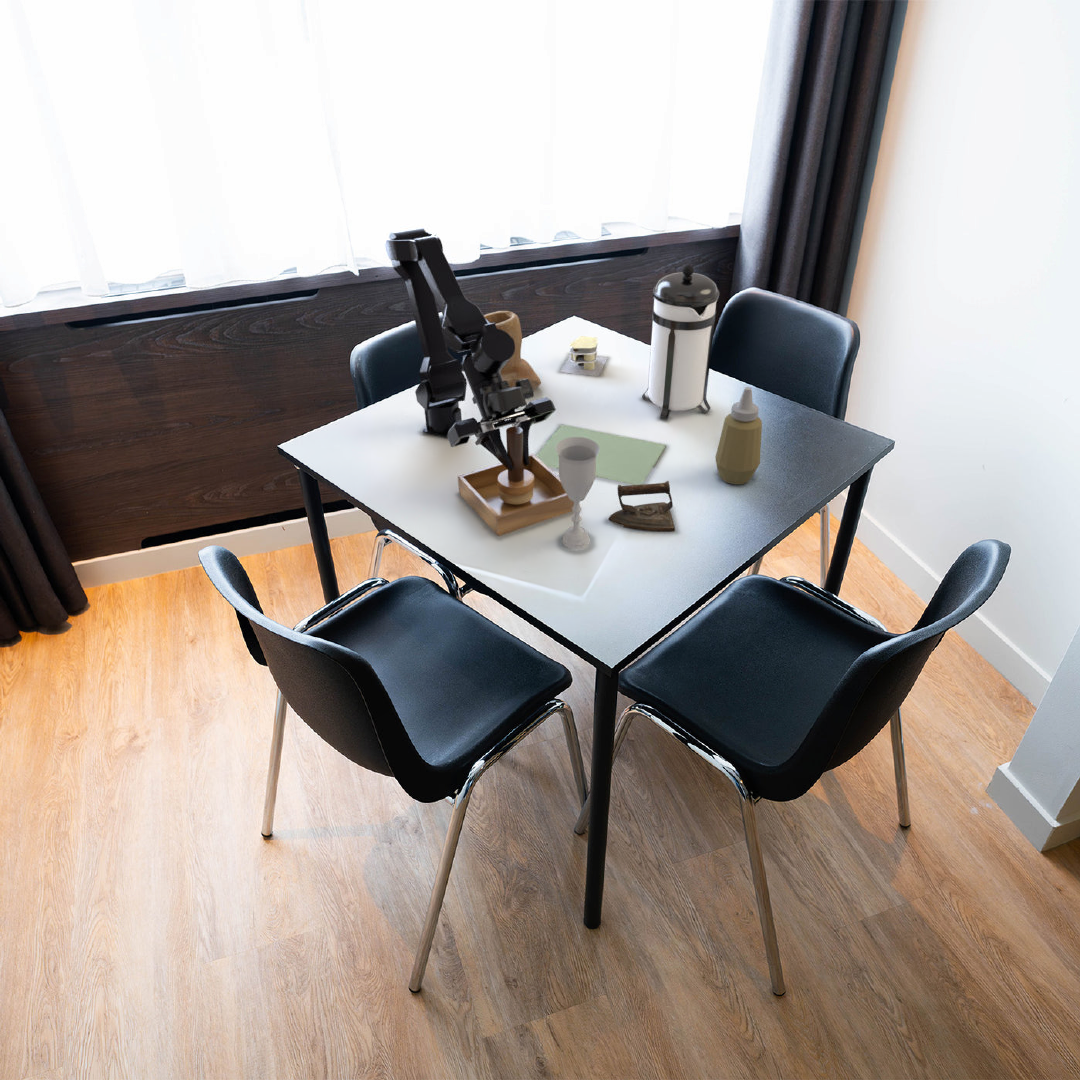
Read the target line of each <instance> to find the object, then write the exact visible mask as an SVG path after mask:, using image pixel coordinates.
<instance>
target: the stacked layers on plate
mask: <svg viewBox="0 0 1080 1080" xmlns="http://www.w3.org/2000/svg"><path fill="white" fill-rule="evenodd" d="M569 346H570V350H569V353H570V354H569V355H568V358H567V359H566V360H565V363H564V364H563V366H562V368H561V369H560V373H567V374H575V375H585V376H594V377H599V376H600V374H601V373H602V370H603V368H604V366H605V364H606V362H607V360H608V357H603V356H602V357H601V356H597V355H598V351H597V348H598V337H594V336H585V335H581V336H579V337H577V338H576V339H574V341H572V342H571V343H570V344H569Z"/></svg>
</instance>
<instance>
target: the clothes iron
mask: <svg viewBox="0 0 1080 1080" xmlns="http://www.w3.org/2000/svg"><path fill="white" fill-rule="evenodd" d="M656 494H657V495H658V494H666V495H668V498H669V502H665V501H661V502H650V503H644V504H638V505H637V504H636V505H631V504H630V505H629V504H624V503H623V499H622V497H630V496H643V495H656ZM617 496H618V501H619V505H620V507H621V509H619V510H617V511H615V512H613V513H612V514H611V515H610V516H608V517H609V518H608V520H609V521H610V522H612V523H614V524H616V525H620V526H623V528H625V529H630V530H635V531H643V532H659V533H661V532H662V533H671V532H676V528H675V523H674V518H673V515H672V511H671V509H672V508H673V507H674V506H673V505H674V503H673V497H672V494H671V486H670V482H669V480H666V481H665V482H658V483H643V484H642V485H634V484H629V485H621V484H618V485H617Z"/></svg>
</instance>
